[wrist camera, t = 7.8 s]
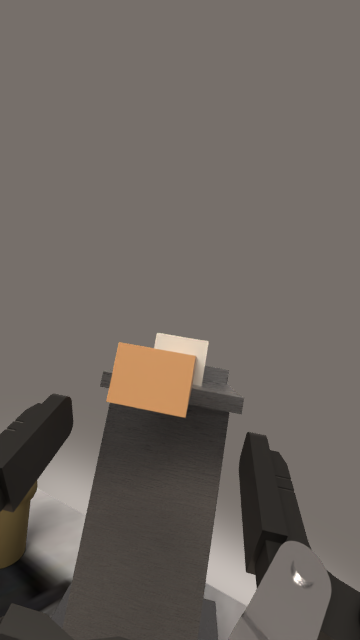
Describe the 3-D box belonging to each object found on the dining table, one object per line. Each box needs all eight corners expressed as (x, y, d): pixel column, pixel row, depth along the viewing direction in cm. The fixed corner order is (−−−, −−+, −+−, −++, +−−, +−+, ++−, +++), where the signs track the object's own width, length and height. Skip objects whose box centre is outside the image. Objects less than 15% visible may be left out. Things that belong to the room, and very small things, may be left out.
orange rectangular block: (87, 397, 12) (108, 301, 13) (160, 372, 36) (166, 338, 37) (205, 421, 12) (221, 319, 12) (200, 379, 36) (206, 345, 36)
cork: (14, 532, 42) (31, 465, 44) (32, 552, 39) (49, 479, 41) (-28, 552, 37) (-8, 475, 39) (-12, 577, 34) (10, 493, 36)
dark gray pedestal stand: (-16, 753, 20) (79, 346, 25) (78, 580, 36) (125, 351, 41) (226, 842, 18) (278, 382, 23) (213, 618, 34) (245, 373, 39)
